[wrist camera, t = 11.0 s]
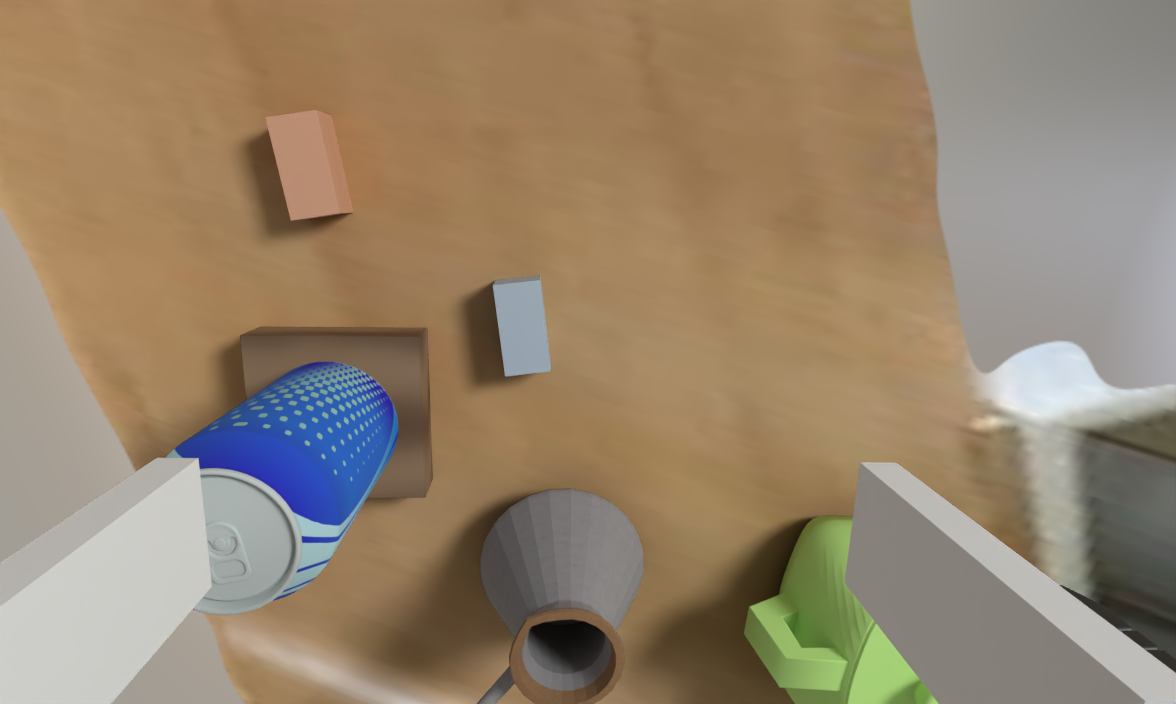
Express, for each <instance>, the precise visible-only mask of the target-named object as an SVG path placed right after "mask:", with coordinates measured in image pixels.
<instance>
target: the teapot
mask: <svg viewBox="0 0 1176 704" xmlns="http://www.w3.org/2000/svg"><path fill="white" fill-rule="evenodd" d="M852 521H853V517H851V516H819V517H816V518H814V519H812V520H811V521H810V522H809V523H808V524H807V525H806V526H805V528H804V529H803V531H802V532H801V534H800V536H799V538H798V540H797V542H796V545H795V547H794V550H793V552H792V554H791V557H790V560H789V562H788V565H787V568H786V570H785V573H784V576H783V580H782V583H781V587H780V591H779V595H777V596H775V597H772V598H770V599H767V600H764V601H762V602H759V603H757V604H754V605H752V606H749V609H748V615H747V620H746V625H745V630H744V635H745V636H746V638H747V639H748V641H749V642H750V644H751V645H752V647H753V648H754V650H755V651H756V653H757V654H758V656H759V657H760V659H761V660H762V662H763V663H764V665H765V666H766V668H767V669H768V671H769V672H770V674H771V675H772V677H773V678H774V680H775V681H776V683H777V684H778V686H779V687H780V688H785V690H786V691H787V693H788V694H789V696H790V698H791V699H792V701H793V702H794V704H939V703H938V702H937V701H936V700H935V698H934V697H933V696H932V694H931V693H930V692H929V691H928V689H927V688H926V687H925V685H924V684H923V683H922V682H921V680H920V679H919V678H918V676H917V675H916V674H915V673H914V671H913V670H912V669H911V667H910V666H909V665H908V664H907V662H906V661H905V660H904V659H903V657H902V656H901V655H900V653H899V652H898V651H897V650H896V648H895V647H894V646H893V644H892V643H891V642H890V641H889V639H888V638H887V637H886V635H885V634H884V633H883V632H882V630H881V629H880V628H879V626H878V625H877V624H876V623H875V621H874V620H873V619H872V617H871V616H870V615H869V614H868V612H867V611H866V610H865V608H864V607H863V606H862V605H861V603H860V602H859V601H858V600H857V598H856V597H855V596H854V594H853V593H852V592H851V591H850V589H849V588H848V587H847V585H846V584H845V583H844V581H845V574H846V566H847V559H848V551H849V544H850V536H851V529H852Z"/></svg>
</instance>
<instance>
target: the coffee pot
mask: <svg viewBox="0 0 1176 704" xmlns="http://www.w3.org/2000/svg"><path fill="white" fill-rule="evenodd" d="M480 566H481V580H482V584H483V586H484V589H485V592H486V594H487V597H488V600H489V601H490V603H491V604H492V606H493V607H494V609H495V610H496V611H497V613H498V614H499V616H500V617H501V619H502V620H503V622H504V623H505V624H506V626H507V627H508V629H509V630H510V632H511V633H512V635H513V636H514V638H515V639H514V641H513V644H512V647H511V651H510V655H509V664H510V666H509V667H508V669H507V670H506V671H505V672H504V673H503V674H502V675H501V677H500V678H499V679H498V680H497V681H496V682H495V683H494V685H493V686H492V687H491V688H490V689H489V690H488V691H487V693H486V694H485V695H484V696H483V697H482V698H481V699H480V701H479V702H478V703H477V704H496V703H497V701H498V700H499V699H500V698H501V697H502V696H503V695H504V694H505V693H506V692H507V691H508V690H509V689H510V688H511V687H512V686H513V685H514V684H516V686H517V687H518V688H519V690H520V691H521V692H522V694H523V695H524V696H526V697H527V698H528V699H529V700H531V701H532V702H533V703H535V704H594V703H596V702H598V701H599V700H601V699H603V698H604V697H605V696H606V695H607V694H608V693H609V692H610V691H611V690H612V689H613V688H614V686H615V685H616V683H617V682H618V680H619V678H620V676H621V673H622V670H623V666H624V648H623V644H622V641H621V638H620V636H619V635H618V633H617V632H616V631H617V629H618V627H619V626H620V624H621V622H622V620H623V618H624V616H625V614H626V612H627V611H628V609H629V607H630V605H631V603H632V601H633V599H634V598H635V596H636V594H637V592H638V589H639V585H640V582H641V578H642V575H643V549H642V546H641V542H640V539H639V536H638V533H637V531H636V530H635V528H634V527H633V525H632V524H631V522H630V521H629V519H628V518H627V516H626V515H625V514H624V513H623V512H622V511H620V510H619V509H618V508H617V507H616V506H615V505H613V504H612V503H611V502H610V501H608V500H606V499H603V498H601V497H599V496H597V495H595V494H593V493H590V492H585V491H580V490H575V489H570V488H568V489H549V490H546V491H543V492H539V493H536V494H533V495H530V496H527V497H526V498H524V499H522V500H521V501H519V502H517V503H516V504H514V505H512V506H511V507H509V508H508V509H507V510H506V511H505V512H504V513H503V514H502V515H501V516H500V518H499V519H498V520H497V521H496V522H495V523H494V525H493V527H492V528H491V530H490V532H489V534H488V536H487V537H486V539H485V541H484V546H483V550H482V554H481V559H480Z"/></svg>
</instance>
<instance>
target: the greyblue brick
mask: <svg viewBox="0 0 1176 704" xmlns="http://www.w3.org/2000/svg"><path fill="white" fill-rule="evenodd" d="M493 291H494V298H495V305H496V313H497V320H498V327H499V335H500V342H501V349H502V357H503V364H504V372H505V377H506V376H514V375H523V374H532V373H540V372H549V371H551V362H550V353H549V345H548V336H547V328H546V320H545V311H544V303H543V294H542V286H541V278H540V275H539V276H530V277H521V278H512V279H502V280H496V281H495V282H494V284H493Z"/></svg>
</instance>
